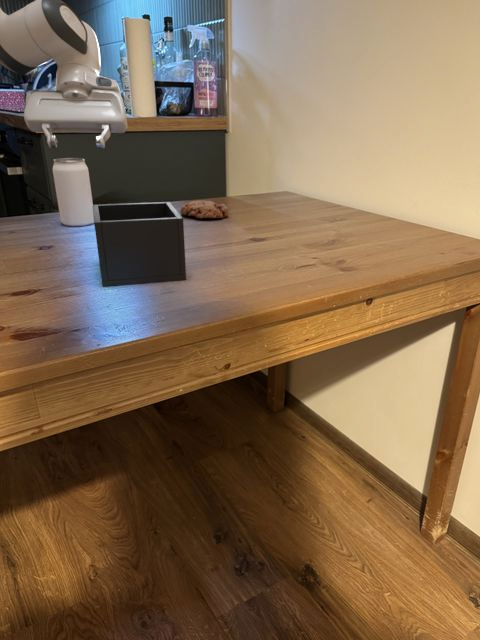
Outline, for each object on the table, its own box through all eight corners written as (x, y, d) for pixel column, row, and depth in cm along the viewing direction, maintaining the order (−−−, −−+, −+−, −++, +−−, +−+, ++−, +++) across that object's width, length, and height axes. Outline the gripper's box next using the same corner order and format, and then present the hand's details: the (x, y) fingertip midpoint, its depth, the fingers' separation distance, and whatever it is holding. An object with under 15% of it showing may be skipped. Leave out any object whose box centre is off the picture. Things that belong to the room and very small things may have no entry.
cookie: (185, 210, 113) (184, 196, 112) (231, 212, 113) (231, 198, 111) (175, 220, 104) (174, 205, 103) (225, 222, 104) (225, 207, 102)
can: (90, 218, 104) (81, 157, 99) (99, 224, 99) (91, 161, 94) (57, 221, 101) (47, 158, 95) (65, 228, 96) (55, 162, 91)
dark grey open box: (102, 286, 68) (94, 222, 64) (99, 261, 78) (92, 204, 74) (186, 279, 72) (183, 218, 68) (173, 256, 81) (170, 201, 77)
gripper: (21, 78, 101) (17, 134, 97) (124, 81, 104) (124, 135, 100) (31, 102, 107) (27, 155, 103) (128, 104, 110) (129, 156, 106)
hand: (76, 145), depth 101 cm, fingers open, 8 cm apart
